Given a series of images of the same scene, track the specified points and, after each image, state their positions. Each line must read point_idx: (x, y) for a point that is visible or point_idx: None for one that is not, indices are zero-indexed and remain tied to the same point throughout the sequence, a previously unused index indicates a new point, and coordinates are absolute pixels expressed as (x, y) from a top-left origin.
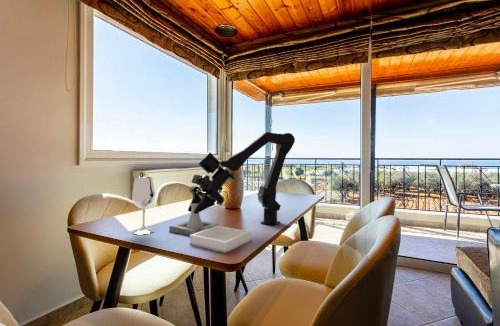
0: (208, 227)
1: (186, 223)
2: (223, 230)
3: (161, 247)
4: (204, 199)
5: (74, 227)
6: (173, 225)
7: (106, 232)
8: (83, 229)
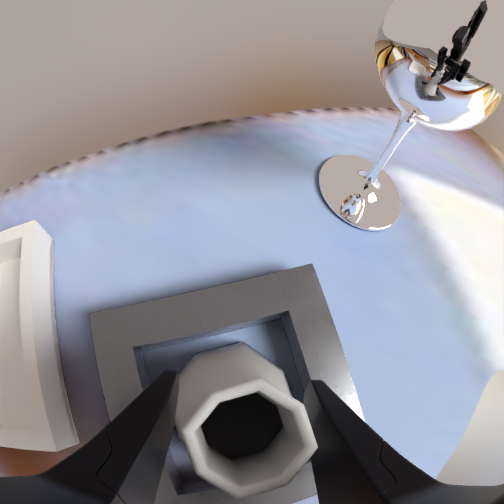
0: None
1: None
2: (18, 430)
3: (114, 156)
4: (28, 480)
5: None
6: (313, 289)
7: None
8: None
